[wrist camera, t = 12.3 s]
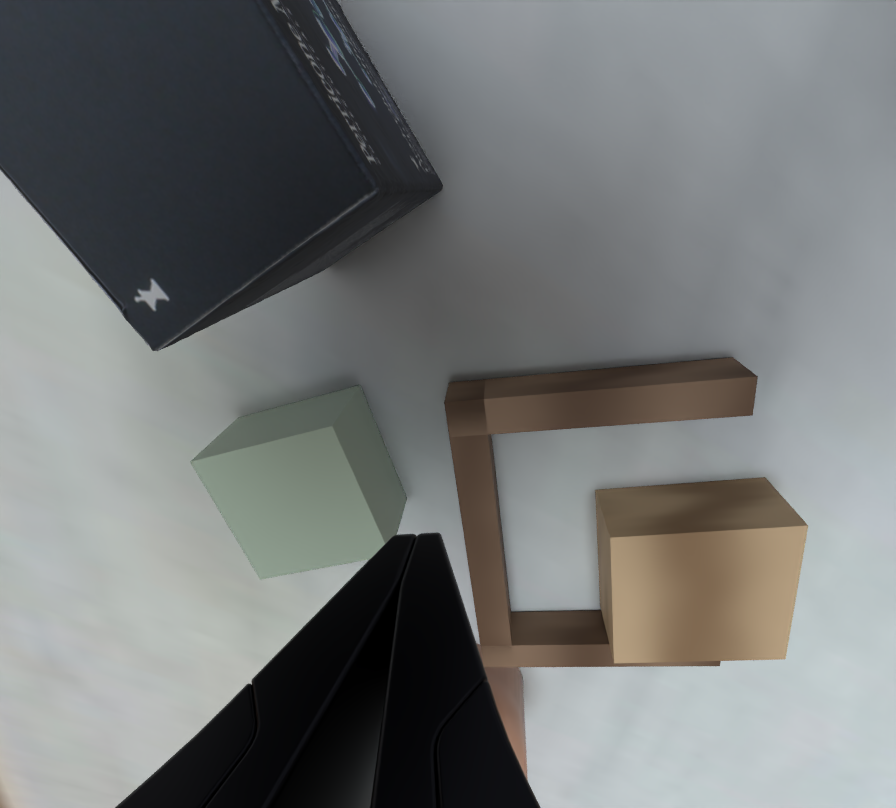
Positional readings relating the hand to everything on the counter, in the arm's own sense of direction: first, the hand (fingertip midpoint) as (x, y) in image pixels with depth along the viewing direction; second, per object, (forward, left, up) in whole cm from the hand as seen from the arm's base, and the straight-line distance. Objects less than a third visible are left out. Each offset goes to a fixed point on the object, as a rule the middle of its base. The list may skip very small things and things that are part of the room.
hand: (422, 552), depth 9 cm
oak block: (-9, +11, -12) cm, 19 cm away
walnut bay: (-4, +9, -12) cm, 15 cm away
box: (+4, -8, -12) cm, 15 cm away
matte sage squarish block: (+7, +5, -12) cm, 15 cm away
